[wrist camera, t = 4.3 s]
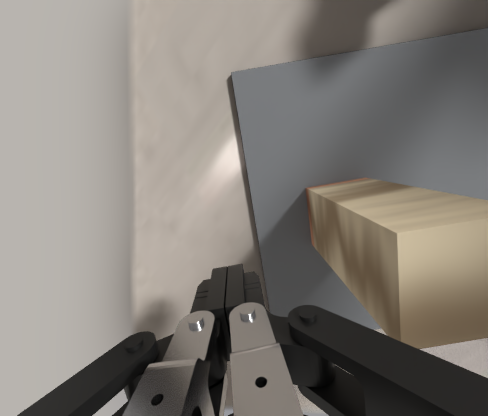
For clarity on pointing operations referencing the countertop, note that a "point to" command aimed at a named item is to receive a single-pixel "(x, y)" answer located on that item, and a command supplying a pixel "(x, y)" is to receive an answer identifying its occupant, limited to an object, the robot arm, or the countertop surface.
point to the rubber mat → (357, 145)
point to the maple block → (407, 256)
